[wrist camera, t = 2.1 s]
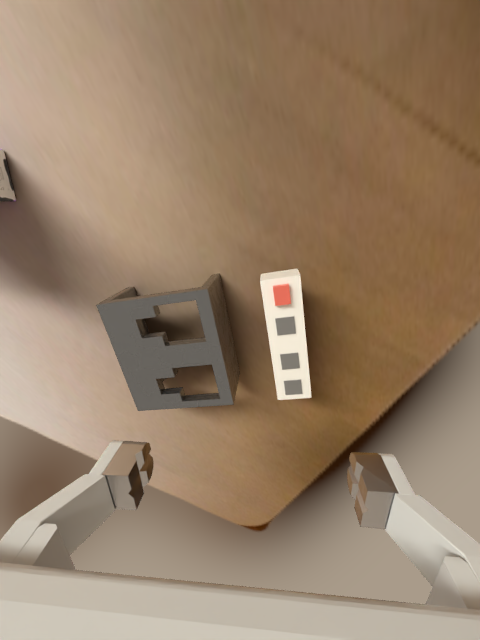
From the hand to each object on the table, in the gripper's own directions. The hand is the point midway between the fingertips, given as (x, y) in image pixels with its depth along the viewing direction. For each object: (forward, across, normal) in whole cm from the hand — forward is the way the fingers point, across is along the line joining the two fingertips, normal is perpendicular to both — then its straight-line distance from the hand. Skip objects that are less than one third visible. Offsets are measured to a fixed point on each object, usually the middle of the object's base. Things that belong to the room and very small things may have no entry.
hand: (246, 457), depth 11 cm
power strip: (+26, -3, +4) cm, 26 cm away
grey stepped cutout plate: (+26, +10, +6) cm, 28 cm away
